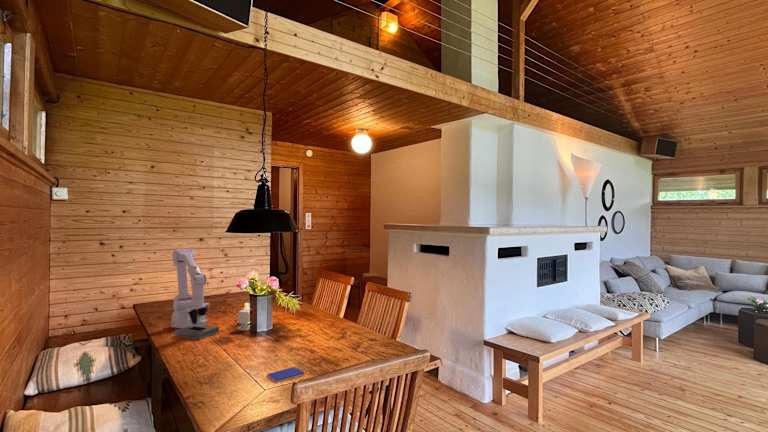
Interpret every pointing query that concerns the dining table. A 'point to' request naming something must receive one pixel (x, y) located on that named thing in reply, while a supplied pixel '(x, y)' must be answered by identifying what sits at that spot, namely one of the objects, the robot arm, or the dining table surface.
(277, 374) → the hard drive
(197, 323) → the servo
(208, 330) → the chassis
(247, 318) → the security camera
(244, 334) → the dining table surface
